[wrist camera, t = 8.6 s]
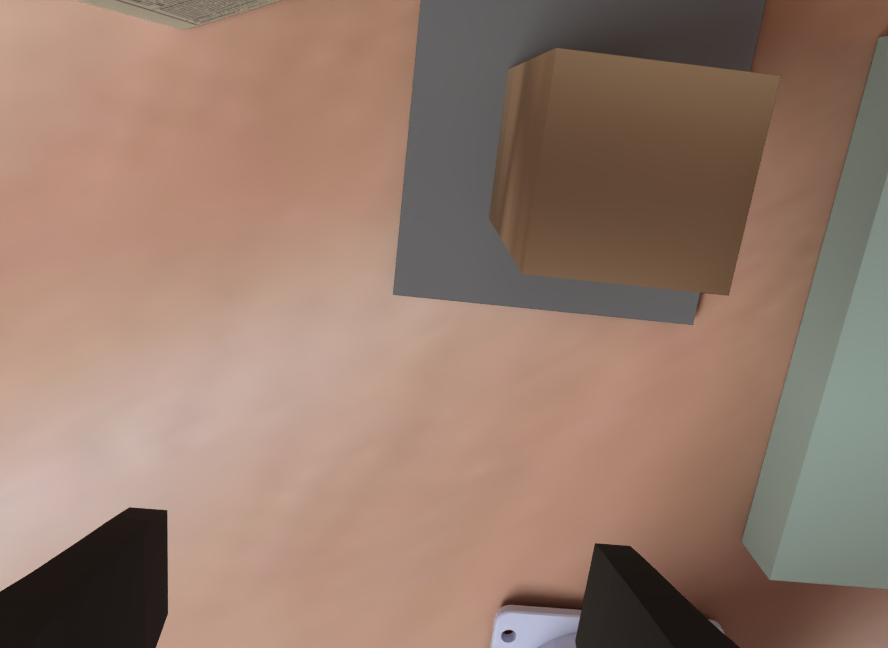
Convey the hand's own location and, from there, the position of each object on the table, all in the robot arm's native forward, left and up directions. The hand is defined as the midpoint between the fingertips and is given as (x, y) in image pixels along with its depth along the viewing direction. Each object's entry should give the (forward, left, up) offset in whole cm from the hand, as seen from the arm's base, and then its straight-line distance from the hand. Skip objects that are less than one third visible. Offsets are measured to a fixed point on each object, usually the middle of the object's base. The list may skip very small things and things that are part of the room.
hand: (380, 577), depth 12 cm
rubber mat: (+7, -4, -10) cm, 13 cm away
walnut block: (+7, -4, -10) cm, 13 cm away
